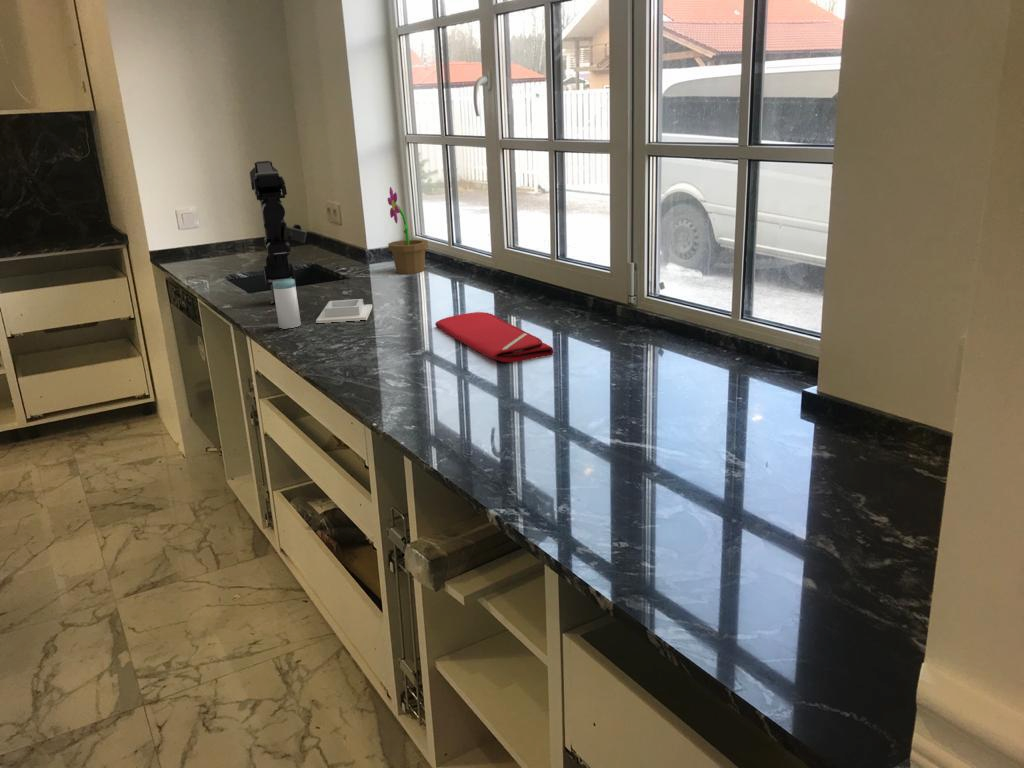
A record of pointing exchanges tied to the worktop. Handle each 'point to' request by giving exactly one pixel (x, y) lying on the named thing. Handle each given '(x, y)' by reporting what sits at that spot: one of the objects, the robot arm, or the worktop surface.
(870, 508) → the worktop surface
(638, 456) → the worktop surface
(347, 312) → the white square stand
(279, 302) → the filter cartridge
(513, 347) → the folded red towel
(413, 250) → the flowerpot
